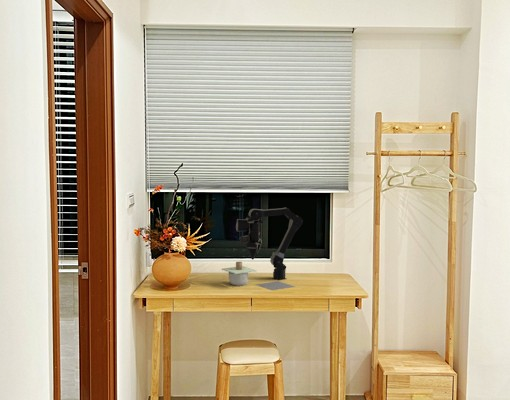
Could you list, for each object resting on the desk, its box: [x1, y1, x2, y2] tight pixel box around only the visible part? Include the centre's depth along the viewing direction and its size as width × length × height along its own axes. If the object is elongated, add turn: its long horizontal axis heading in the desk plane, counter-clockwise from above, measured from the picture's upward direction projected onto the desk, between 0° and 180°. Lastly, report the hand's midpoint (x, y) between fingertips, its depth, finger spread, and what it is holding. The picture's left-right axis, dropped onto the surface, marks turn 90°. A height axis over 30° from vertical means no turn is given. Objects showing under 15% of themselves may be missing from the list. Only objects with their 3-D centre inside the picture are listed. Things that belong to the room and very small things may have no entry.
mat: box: [255, 280, 297, 291], centre depth 318 cm, size 16×16×1 cm
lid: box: [221, 261, 257, 274], centre depth 321 cm, size 14×14×5 cm
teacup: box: [228, 272, 249, 287], centre depth 322 cm, size 14×11×8 cm
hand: (254, 258), depth 332 cm, fingers open, 9 cm apart
